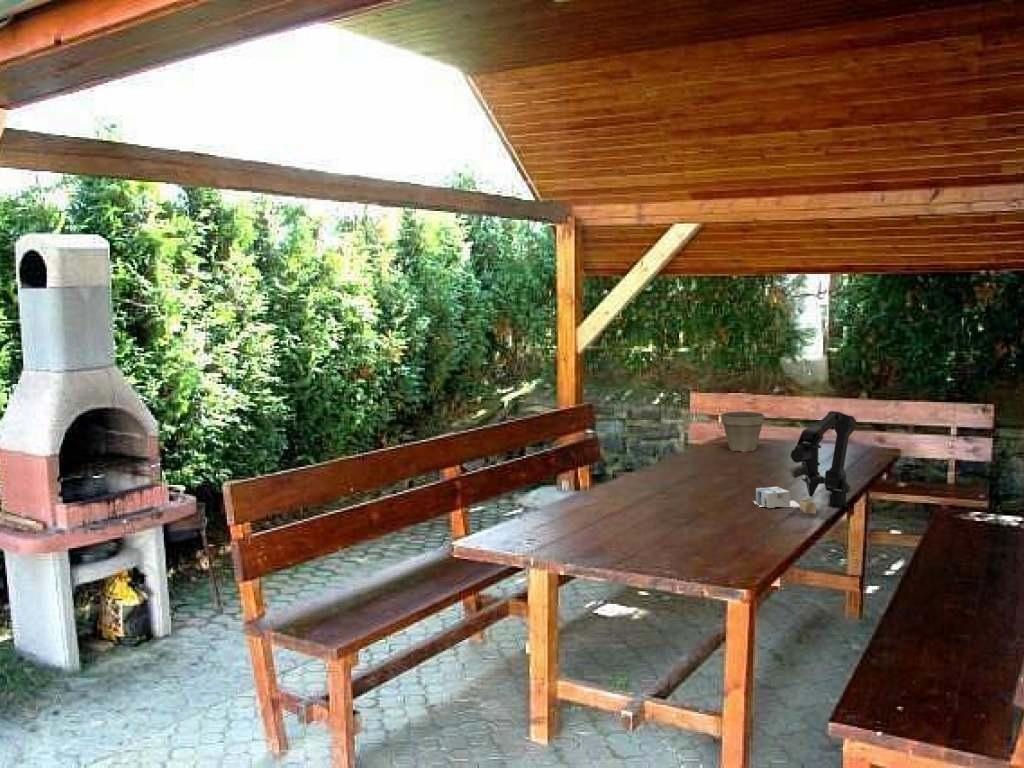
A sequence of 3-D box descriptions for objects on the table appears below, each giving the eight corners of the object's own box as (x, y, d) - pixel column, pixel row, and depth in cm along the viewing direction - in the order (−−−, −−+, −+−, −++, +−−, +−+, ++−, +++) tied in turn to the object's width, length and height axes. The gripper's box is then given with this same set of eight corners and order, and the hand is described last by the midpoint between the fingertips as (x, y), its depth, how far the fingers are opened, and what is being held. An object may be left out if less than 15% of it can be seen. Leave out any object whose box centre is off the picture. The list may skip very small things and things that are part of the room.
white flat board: (793, 501, 400) (793, 500, 400) (801, 507, 388) (801, 506, 388) (752, 502, 400) (752, 501, 400) (759, 508, 389) (759, 507, 389)
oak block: (815, 513, 378) (809, 508, 386) (815, 504, 377) (809, 499, 386) (806, 513, 378) (799, 509, 387) (806, 504, 377) (799, 499, 386)
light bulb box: (768, 493, 385) (755, 487, 396) (768, 508, 386) (755, 503, 397) (790, 491, 388) (776, 486, 399) (790, 506, 389) (776, 500, 399)
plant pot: (751, 455, 517) (751, 417, 515) (713, 451, 534) (713, 414, 532) (771, 449, 535) (772, 413, 533) (734, 445, 552) (734, 410, 550)
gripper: (785, 456, 385) (784, 492, 387) (798, 464, 367) (798, 501, 368) (811, 455, 385) (811, 491, 387) (826, 463, 367) (825, 501, 368)
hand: (810, 496), depth 377 cm, fingers closed
